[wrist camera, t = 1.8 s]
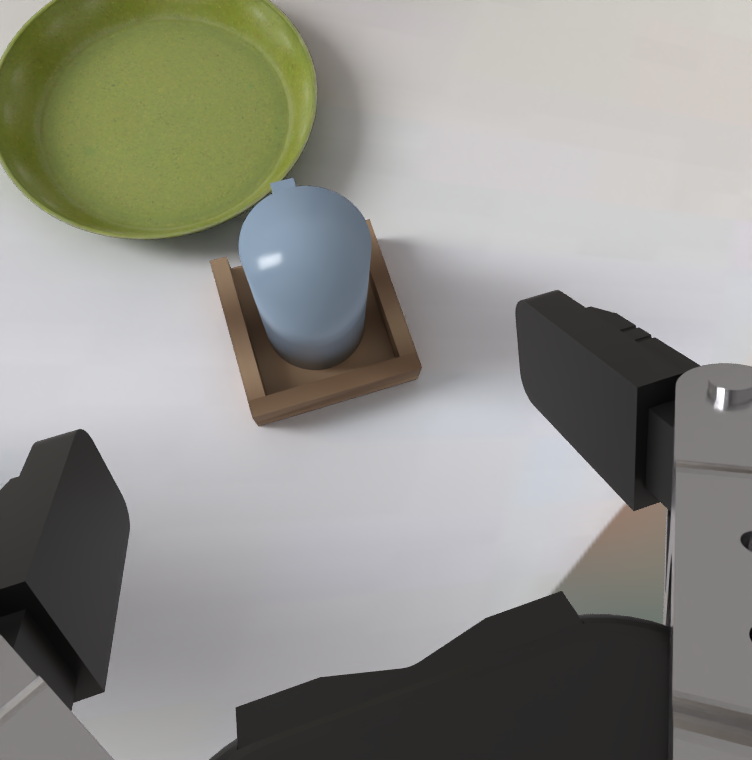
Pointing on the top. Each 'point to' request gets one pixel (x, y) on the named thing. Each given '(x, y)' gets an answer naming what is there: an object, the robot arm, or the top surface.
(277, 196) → the pale blue smooth-sided part
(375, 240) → the holder
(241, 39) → the saucer
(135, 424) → the top surface
